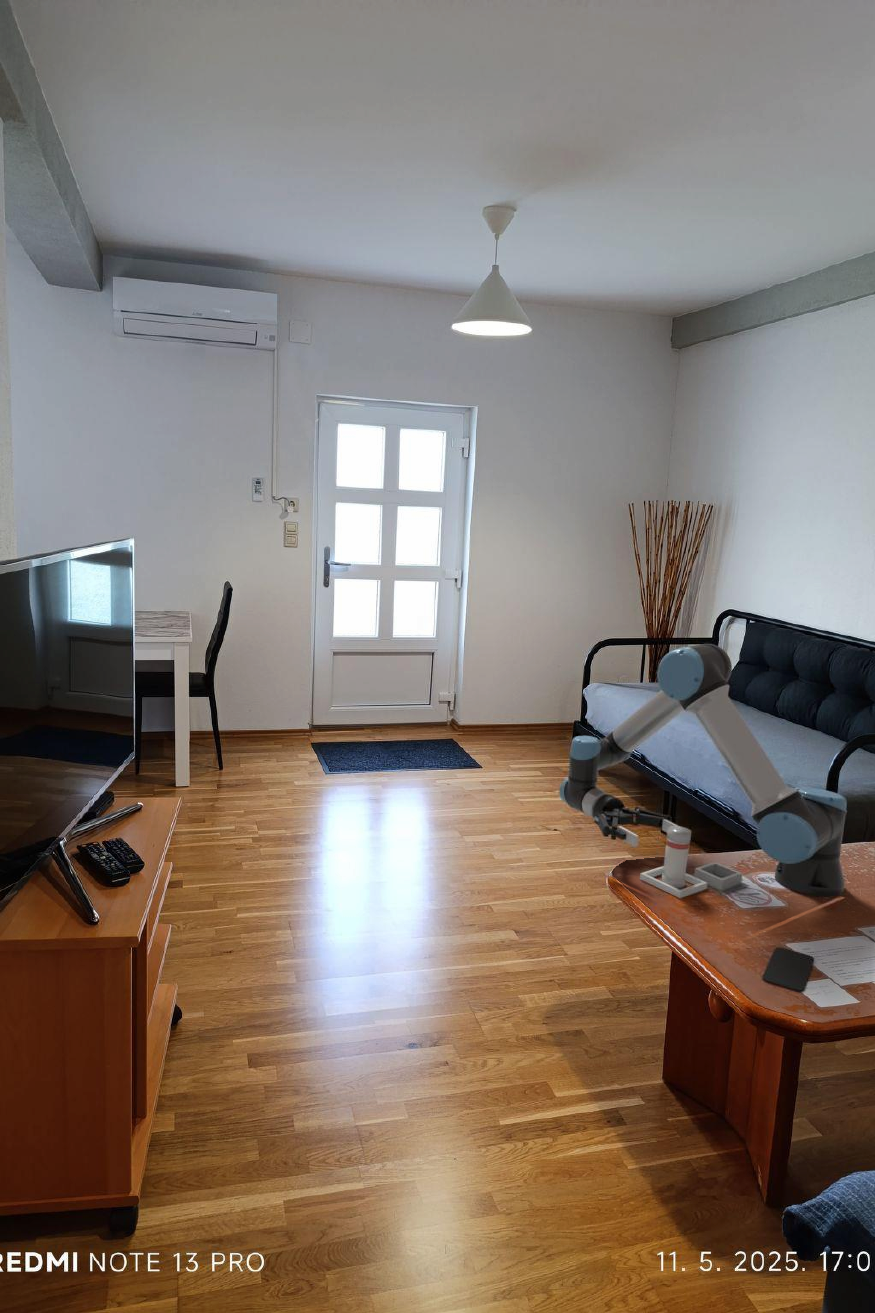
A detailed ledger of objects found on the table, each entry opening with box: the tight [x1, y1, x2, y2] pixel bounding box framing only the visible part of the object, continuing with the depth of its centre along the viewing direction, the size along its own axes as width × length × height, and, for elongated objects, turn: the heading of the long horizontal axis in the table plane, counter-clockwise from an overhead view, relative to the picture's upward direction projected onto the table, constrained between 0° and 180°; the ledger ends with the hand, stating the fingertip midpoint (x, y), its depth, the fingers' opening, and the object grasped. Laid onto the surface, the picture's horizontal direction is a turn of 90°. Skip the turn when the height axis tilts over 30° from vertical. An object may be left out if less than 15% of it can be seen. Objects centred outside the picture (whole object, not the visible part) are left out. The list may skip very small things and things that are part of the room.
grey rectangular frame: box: [639, 865, 708, 899], centre depth 208 cm, size 12×10×2 cm
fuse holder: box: [690, 861, 750, 895], centre depth 210 cm, size 11×9×3 cm
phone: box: [762, 946, 815, 993], centre depth 173 cm, size 7×1×15 cm
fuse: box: [660, 825, 692, 890], centre depth 207 cm, size 5×5×13 cm
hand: (659, 837), depth 211 cm, fingers open, 13 cm apart
